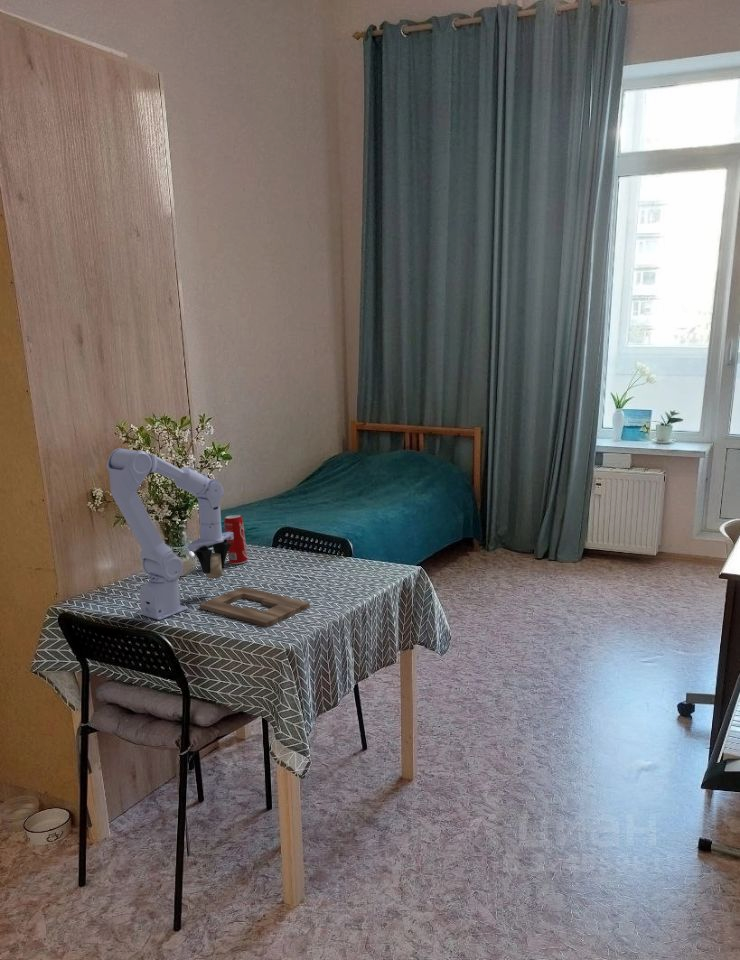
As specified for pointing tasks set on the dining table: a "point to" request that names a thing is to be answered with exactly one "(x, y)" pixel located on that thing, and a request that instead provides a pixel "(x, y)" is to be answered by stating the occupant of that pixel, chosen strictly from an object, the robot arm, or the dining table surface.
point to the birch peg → (215, 566)
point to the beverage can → (236, 539)
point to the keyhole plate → (278, 612)
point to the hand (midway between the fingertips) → (213, 570)
